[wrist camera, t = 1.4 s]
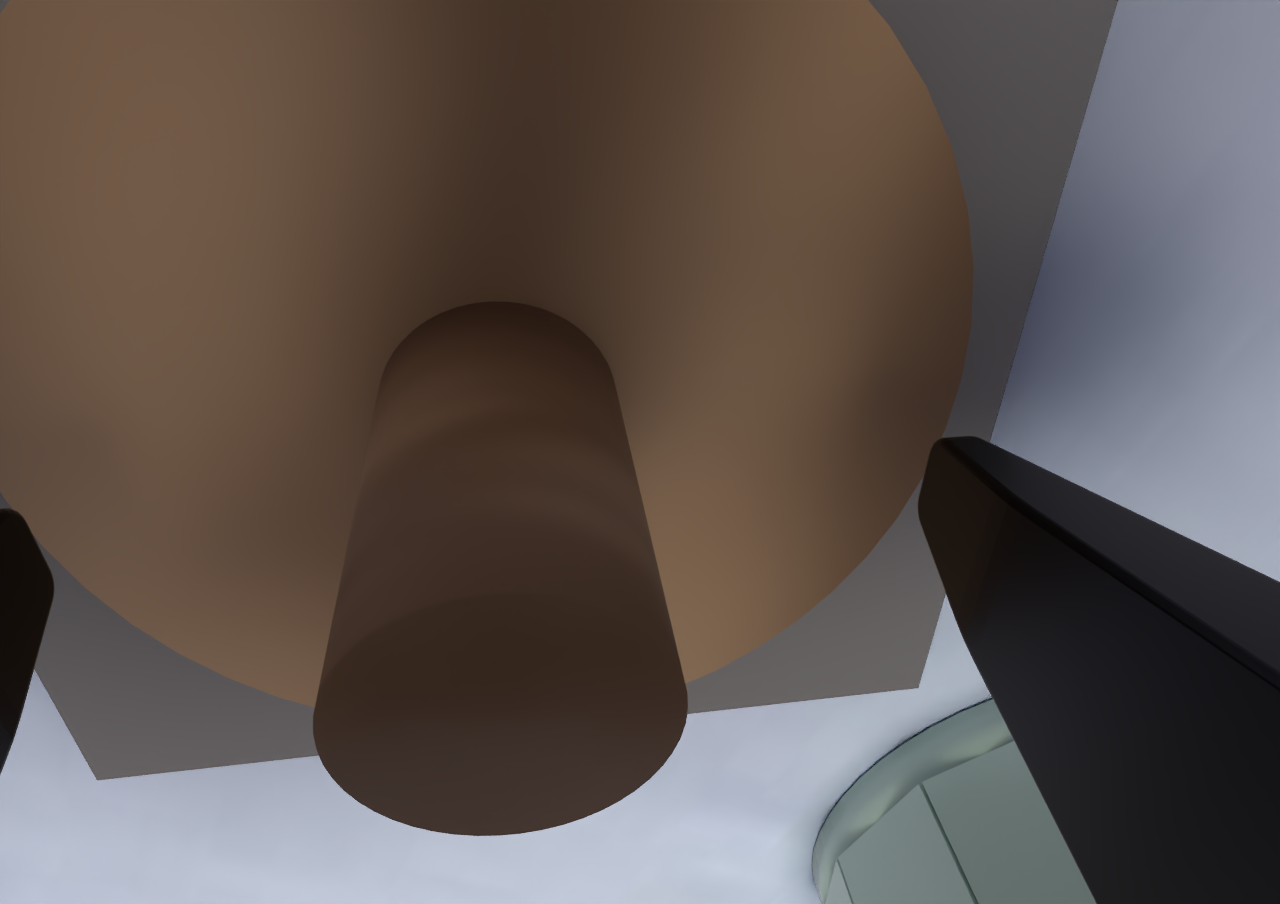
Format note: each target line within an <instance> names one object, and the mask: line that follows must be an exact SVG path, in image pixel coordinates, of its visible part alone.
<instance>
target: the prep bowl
mask: <svg viewBox="0 0 1280 904" xmlns="http://www.w3.org/2000/svg"><path fill="white" fill-rule="evenodd" d="M812 870H813V877H814V882H815V885H816V888H817V891H818V895H819V898H820V901H821V904H1096V902H1095V900H1094V898H1093V896H1092V894H1091V892H1090V890H1089V888H1088V886H1087V884H1086V882H1085V880H1084V878H1083V876H1082V874H1081V872H1080V870H1079V869H1078V867H1077V865H1076V863H1075V861H1074V859H1073V857H1072V855H1071V853H1070V851H1069V849H1068V847H1067V845H1066V843H1065V841H1064V839H1063V837H1062V835H1061V833H1060V831H1059V829H1058V827H1057V825H1056V823H1055V821H1054V819H1053V817H1052V815H1051V813H1050V811H1049V809H1048V807H1047V805H1046V803H1045V801H1044V799H1043V797H1042V795H1041V793H1040V791H1039V789H1038V787H1037V785H1036V783H1035V781H1034V779H1033V777H1032V775H1031V773H1030V771H1029V769H1028V767H1027V765H1026V763H1025V761H1024V759H1023V757H1022V755H1021V753H1020V752H1019V750H1018V748H1017V746H1016V744H1015V742H1014V740H1013V738H1012V736H1011V734H1010V732H1009V730H1008V728H1007V726H1006V724H1005V722H1004V720H1003V718H1002V716H1001V714H1000V712H999V710H998V708H997V706H996V704H995V702H994V700H993V699H992V700H989V701H987V702H984V703H982V704H979V705H977V706H974V707H972V708H970V709H967V710H965V711H962V712H960V713H958V714H956V715H954V716H952V717H950V718H948V719H946V720H944V721H942V722H940V723H938V724H936V725H934V726H932V727H930V728H929V729H927V730H925V731H924V732H922V733H920V734H919V735H917V736H915V737H914V738H912V739H910V740H909V741H907V742H905V743H904V744H902V745H901V746H900V747H898V748H897V749H895V750H894V751H893V752H891V753H890V754H889V755H887V756H886V757H884V758H883V759H882V760H880V761H879V762H878V763H877V764H876V765H874V766H873V767H872V768H871V769H870V770H869V771H868V772H866V773H865V774H864V775H863V776H862V777H861V778H859V779H858V781H857V782H856V783H855V784H854V785H853V786H852V787H851V788H850V789H849V790H848V791H847V792H846V793H845V794H844V795H843V797H842V798H841V799H840V801H839V802H838V803H837V805H836V806H835V807H834V809H833V810H832V811H831V813H830V814H829V816H828V817H827V819H826V821H825V823H824V825H823V827H822V829H821V831H820V832H819V835H818V838H817V841H816V844H815V847H814V852H813V860H812Z"/></svg>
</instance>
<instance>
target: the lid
mask: <svg viewBox="0 0 1280 904" xmlns="http://www.w3.org/2000/svg"><path fill="white" fill-rule="evenodd" d="M973 272H974V267H973V257H972V247H971V237H970V227H969V217H968V208H967V204H966V200H965V196H964V192H963V188H962V184H961V181H960V177H959V173H958V169H957V165H956V161H955V157H954V153H953V149H952V146H951V144H950V141H949V139H948V136H947V134H946V132H945V129H944V127H943V125H942V122H941V120H940V117H939V115H938V113H937V110H936V108H935V106H934V103H933V101H932V98H931V96H930V94H929V91H928V89H927V86H926V85H925V83H924V81H923V80H922V78H921V76H920V75H919V73H918V72H917V70H916V68H915V67H914V65H913V63H912V62H911V60H910V59H909V57H908V55H907V54H906V52H905V50H904V49H903V47H902V45H901V44H900V42H899V41H898V39H897V37H896V36H895V34H894V32H893V31H892V29H891V28H890V26H889V24H888V23H887V22H886V21H885V20H884V19H883V17H882V16H881V15H880V14H879V13H878V12H877V10H876V9H875V8H874V7H873V6H872V4H871V3H870V2H869V1H868V0H10V1H9V2H8V4H7V5H6V6H5V8H4V9H3V10H2V12H1V13H0V492H1V494H2V495H3V497H4V499H5V500H6V501H7V502H8V504H9V505H10V506H11V507H12V509H13V510H15V511H17V512H19V513H20V514H21V515H22V516H23V517H24V519H25V520H26V522H27V524H28V526H29V528H30V530H31V532H32V534H33V535H34V536H35V537H36V539H37V540H38V541H39V542H40V544H41V545H42V546H43V547H44V548H45V549H46V550H47V551H48V552H49V553H50V554H51V555H52V556H53V557H54V558H55V559H56V560H57V561H58V562H59V563H60V564H61V565H62V566H63V567H64V568H65V569H66V570H67V571H68V572H69V573H70V574H71V575H72V576H74V577H75V578H76V579H77V580H78V581H79V582H80V583H81V584H82V585H83V586H84V587H85V588H86V589H87V590H88V591H90V592H91V593H92V594H94V595H95V596H96V597H97V598H99V599H100V600H101V601H102V602H104V603H105V604H106V605H108V606H109V607H110V608H111V609H113V610H114V611H115V612H117V613H118V614H119V615H120V616H122V617H123V618H124V619H126V620H127V621H128V622H129V623H131V624H132V625H134V626H135V627H137V628H139V629H140V630H142V631H143V632H145V633H147V634H148V635H150V636H151V637H153V638H155V639H156V640H158V641H159V642H161V643H163V644H164V645H166V646H167V647H169V648H171V649H172V650H174V651H175V652H177V653H179V654H180V655H182V656H184V657H187V658H189V659H191V660H193V661H195V662H197V663H199V664H201V665H203V666H205V667H207V668H209V669H211V670H213V671H215V672H217V673H219V674H221V675H223V676H225V677H227V678H229V679H232V680H234V681H237V682H240V683H242V684H245V685H247V686H250V687H253V688H255V689H258V690H261V691H263V692H266V693H268V694H271V695H274V696H276V697H279V698H282V699H286V700H290V701H293V702H297V703H300V704H304V705H307V706H311V707H314V708H315V709H314V714H313V736H314V741H315V746H316V750H317V752H318V754H319V757H320V759H321V761H322V763H323V765H324V767H325V768H326V770H327V771H328V773H329V774H330V776H331V777H332V778H333V779H334V780H335V782H336V783H337V784H338V785H339V786H340V787H341V788H342V789H343V790H344V791H345V792H347V793H348V794H349V795H350V796H352V797H353V798H354V799H355V800H357V801H358V802H359V803H361V804H363V805H365V806H366V807H368V808H370V809H371V810H373V811H375V812H377V813H379V814H381V815H383V816H386V817H388V818H390V819H392V820H395V821H398V822H401V823H404V824H407V825H410V826H413V827H417V828H422V829H426V830H430V831H435V832H442V833H449V834H457V835H473V836H492V835H509V834H520V833H526V832H532V831H538V830H543V829H547V828H552V827H556V826H560V825H564V824H567V823H570V822H573V821H576V820H579V819H582V818H584V817H587V816H589V815H592V814H594V813H596V812H599V811H601V810H603V809H605V808H607V807H609V806H611V805H613V804H615V803H616V802H618V801H620V800H622V799H623V798H625V797H626V796H628V795H629V794H631V793H632V792H634V791H635V790H637V789H638V788H639V787H640V786H642V785H643V784H644V783H645V782H646V781H648V780H649V779H650V778H651V777H652V776H653V775H654V774H655V773H656V772H657V771H658V770H659V769H660V768H661V767H662V766H663V764H664V763H665V762H666V761H667V759H668V758H669V757H670V755H671V754H672V753H673V751H674V749H675V747H676V745H677V743H678V742H679V740H680V738H681V735H682V732H683V729H684V726H685V724H686V718H687V711H688V694H687V689H686V684H687V683H689V682H691V681H693V680H696V679H698V678H700V677H703V676H705V675H707V674H710V673H712V672H714V671H716V670H718V669H720V668H722V667H723V666H725V665H727V664H729V663H731V662H733V661H734V660H736V659H738V658H740V657H742V656H744V655H745V654H747V653H749V652H751V651H753V650H754V649H756V648H758V647H759V646H761V645H762V644H764V643H765V642H767V641H768V640H770V639H771V638H773V637H774V636H776V635H777V634H779V633H780V632H782V631H783V630H784V629H786V628H787V627H789V626H790V625H792V624H793V623H795V622H796V621H797V620H799V619H800V618H801V617H802V616H804V615H805V614H806V613H807V612H808V611H810V610H811V609H812V608H813V607H814V606H816V605H817V604H818V603H819V602H820V601H822V600H823V599H824V598H825V597H826V596H828V595H829V594H830V593H831V592H832V591H834V590H835V589H836V588H837V586H838V585H839V584H840V583H841V582H842V581H843V580H844V579H845V578H846V577H847V576H848V575H849V574H850V573H851V572H852V571H853V570H854V569H855V568H856V567H857V566H858V565H859V564H860V563H861V562H862V561H863V560H864V559H865V558H866V557H867V556H868V555H869V553H870V552H871V551H872V549H873V548H874V547H875V546H876V544H877V543H878V542H879V541H880V539H881V538H882V537H883V536H884V534H885V533H886V532H887V531H888V529H889V528H890V527H891V525H892V524H893V523H894V522H895V520H896V519H897V518H898V516H899V515H900V513H901V511H902V510H903V508H904V507H905V505H906V503H907V502H908V500H909V498H910V497H911V495H912V494H913V492H914V490H915V489H916V487H917V486H918V484H919V482H920V481H921V479H922V478H923V476H924V473H925V469H926V465H927V461H928V457H929V453H930V450H931V447H932V446H933V444H934V442H936V441H937V440H938V439H940V438H942V435H943V433H944V431H945V429H946V426H947V423H948V420H949V416H950V413H951V410H952V407H953V404H954V401H955V398H956V395H957V392H958V388H959V385H960V382H961V379H962V374H963V368H964V363H965V357H966V352H967V346H968V341H969V335H970V330H971V320H972V296H973Z"/></svg>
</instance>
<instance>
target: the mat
mask: <svg viewBox="0 0 1280 904" xmlns="http://www.w3.org/2000/svg"><path fill="white" fill-rule="evenodd" d="M9 1H10V0H0V13H1V12H2V10H3V9H4V8H5V6H6V5H7V4H8V2H9ZM868 1H869V2H870V3H871V4H872V6H873V7H874V8H875V9H876V10H877V12H878V13H879V14H880V15H881V16H882V17H883V19H884V20H885V21H886V22H887V23H888V24H889V26H890V28H891V29H892V31H893V32H894V34H895V36H896V37H897V39H898V41H899V42H900V44H901V45H902V47H903V49H904V50H905V52H906V54H907V55H908V57H909V59H910V60H911V62H912V63H913V65H914V67H915V68H916V70H917V72H918V73H919V75H920V76H921V78H922V80H923V81H924V83H925V85H926V86H927V89H928V91H929V94H930V96H931V98H932V101H933V103H934V106H935V108H936V110H937V113H938V115H939V117H940V120H941V122H942V125H943V127H944V129H945V132H946V134H947V136H948V139H949V141H950V144H951V146H952V149H953V153H954V157H955V161H956V165H957V169H958V173H959V177H960V181H961V184H962V188H963V192H964V196H965V200H966V204H967V208H968V217H969V227H970V237H971V247H972V257H973V267H974V272H973V296H972V320H971V330H970V335H969V341H968V346H967V352H966V357H965V363H964V368H963V374H962V379H961V382H960V385H959V388H958V392H957V395H956V398H955V401H954V404H953V407H952V410H951V413H950V416H949V420H948V423H947V426H946V429H945V431H944V433H943V435H942V438H946V437H959V436H976V437H979V438H981V439H983V440H985V441H987V442H990V439H991V436H992V432H993V429H994V425H995V422H996V418H997V415H998V411H999V408H1000V404H1001V401H1002V398H1003V394H1004V391H1005V387H1006V384H1007V380H1008V377H1009V373H1010V370H1011V367H1012V363H1013V360H1014V356H1015V353H1016V349H1017V346H1018V342H1019V339H1020V336H1021V332H1022V329H1023V325H1024V322H1025V318H1026V315H1027V311H1028V308H1029V305H1030V301H1031V298H1032V294H1033V291H1034V287H1035V284H1036V280H1037V277H1038V274H1039V270H1040V267H1041V263H1042V260H1043V256H1044V253H1045V249H1046V246H1047V243H1048V239H1049V236H1050V232H1051V229H1052V225H1053V222H1054V218H1055V215H1056V212H1057V208H1058V205H1059V201H1060V198H1061V194H1062V191H1063V187H1064V184H1065V181H1066V177H1067V174H1068V170H1069V167H1070V163H1071V160H1072V156H1073V153H1074V150H1075V146H1076V143H1077V139H1078V136H1079V132H1080V129H1081V125H1082V122H1083V119H1084V115H1085V112H1086V108H1087V105H1088V101H1089V98H1090V94H1091V91H1092V88H1093V84H1094V81H1095V77H1096V74H1097V70H1098V67H1099V63H1100V60H1101V57H1102V53H1103V50H1104V46H1105V43H1106V39H1107V36H1108V32H1109V29H1110V26H1111V22H1112V19H1113V15H1114V12H1115V8H1116V5H1117V1H1118V0H868ZM923 477H924V476H923ZM922 481H923V478H922V479H921V481H920V482H919V484H918V486H917V487H916V489H915V490H914V492H913V494H912V495H911V497H910V498H909V500H908V502H907V503H906V505H905V507H904V508H903V510H902V511H901V513H900V515H899V516H898V518H897V519H896V520H895V522H894V523H893V524H892V525H891V527H890V528H889V529H888V531H887V532H886V533H885V534H884V536H883V537H882V538H881V539H880V541H879V542H878V543H877V544H876V546H875V547H874V548H873V549H872V551H871V552H870V553H869V555H868V556H867V557H866V558H865V559H864V560H863V561H862V562H861V563H860V564H859V565H858V566H857V567H856V568H855V569H854V570H853V571H852V572H851V573H850V574H849V575H848V576H847V577H846V578H845V579H844V580H843V581H842V582H841V583H840V584H839V585H838V586H837V588H836V589H835V590H834V591H832V592H831V593H830V594H829V595H828V596H826V597H825V598H824V599H823V600H822V601H820V602H819V603H818V604H817V605H816V606H814V607H813V608H812V609H811V610H810V611H808V612H807V613H806V614H805V615H804V616H802V617H801V618H800V619H799V620H797V621H796V622H795V623H793V624H792V625H790V626H789V627H787V628H786V629H784V630H783V631H782V632H780V633H779V634H777V635H776V636H774V637H773V638H771V639H770V640H768V641H767V642H765V643H764V644H762V645H761V646H759V647H758V648H756V649H754V650H753V651H751V652H749V653H747V654H745V655H744V656H742V657H740V658H738V659H736V660H734V661H733V662H731V663H729V664H727V665H725V666H723V667H722V668H720V669H718V670H716V671H714V672H712V673H710V674H707V675H705V676H703V677H700V678H698V679H696V680H693V681H691V682H689V683H687V684H686V689H687V694H688V711H687V714H691V713H700V712H709V711H717V710H726V709H735V708H744V707H753V706H762V705H771V704H780V703H789V702H797V701H806V700H815V699H824V698H833V697H842V696H851V695H860V694H869V693H877V692H886V691H895V690H904V689H913V688H918V687H919V684H920V680H921V677H922V673H923V670H924V666H925V663H926V659H927V656H928V653H929V649H930V646H931V642H932V639H933V635H934V632H935V628H936V625H937V622H938V618H939V615H940V611H941V608H942V604H943V601H944V597H945V594H946V592H945V589H944V586H943V584H942V581H941V578H940V576H939V573H938V570H937V567H936V565H935V562H934V559H933V557H932V554H931V551H930V548H929V546H928V543H927V540H926V538H925V535H924V532H923V529H922V527H921V524H920V521H919V516H918V498H919V494H920V490H921V486H922ZM1 508H10V509H12V507H11V506H10V505H9V504H8V502H7V501H6V500H5V499H4V497H3V495H2V494H1V492H0V509H1ZM33 536H34V535H33ZM34 538H35V540H36V542H37V544H38V546H39V548H40V550H41V552H42V554H43V556H44V558H45V560H46V562H47V564H48V566H49V568H50V570H51V572H52V575H53V580H54V597H53V602H52V606H51V609H50V613H49V617H48V620H47V624H46V627H45V631H44V635H43V638H42V642H41V646H40V649H39V653H38V656H37V660H36V664H35V667H34V669H35V671H36V672H37V674H38V676H39V678H40V680H41V681H42V683H43V685H44V687H45V688H46V690H47V692H48V694H49V696H50V697H51V699H52V701H53V703H54V704H55V706H56V708H57V710H58V712H59V713H60V715H61V717H62V719H63V720H64V722H65V724H66V726H67V728H68V729H69V731H70V733H71V735H72V736H73V738H74V740H75V742H76V743H77V745H78V747H79V749H80V751H81V752H82V754H83V756H84V758H85V759H86V761H87V763H88V765H89V767H90V768H91V770H92V772H93V774H94V775H95V777H96V779H97V780H104V779H113V778H122V777H131V776H139V775H148V774H157V773H166V772H175V771H184V770H193V769H202V768H211V767H219V766H228V765H237V764H246V763H255V762H264V761H273V760H282V759H291V758H299V757H308V756H317V755H319V754H318V752H317V750H316V746H315V741H314V736H313V714H314V709H315V708H314V707H311V706H307V705H304V704H300V703H297V702H293V701H290V700H286V699H282V698H279V697H276V696H274V695H271V694H268V693H266V692H263V691H261V690H258V689H255V688H253V687H250V686H247V685H245V684H242V683H240V682H237V681H234V680H232V679H229V678H227V677H225V676H223V675H221V674H219V673H217V672H215V671H213V670H211V669H209V668H207V667H205V666H203V665H201V664H199V663H197V662H195V661H193V660H191V659H189V658H187V657H184V656H182V655H180V654H179V653H177V652H175V651H174V650H172V649H171V648H169V647H167V646H166V645H164V644H163V643H161V642H159V641H158V640H156V639H155V638H153V637H151V636H150V635H148V634H147V633H145V632H143V631H142V630H140V629H139V628H137V627H135V626H134V625H132V624H131V623H129V622H128V621H127V620H126V619H124V618H123V617H122V616H120V615H119V614H118V613H117V612H115V611H114V610H113V609H111V608H110V607H109V606H108V605H106V604H105V603H104V602H102V601H101V600H100V599H99V598H97V597H96V596H95V595H94V594H92V593H91V592H90V591H88V590H87V589H86V588H85V587H84V586H83V585H82V584H81V583H80V582H79V581H78V580H77V579H76V578H75V577H74V576H72V575H71V574H70V573H69V572H68V571H67V570H66V569H65V568H64V567H63V566H62V565H61V564H60V563H59V562H58V561H57V560H56V559H55V558H54V557H53V556H52V555H51V554H50V553H49V552H48V551H47V550H46V549H45V548H44V547H43V546H42V545H41V544H40V542H39V541H38V540H37V539H36V537H35V536H34Z"/></svg>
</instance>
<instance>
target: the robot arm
mask: <svg viewBox="0 0 1280 904" xmlns="http://www.w3.org/2000/svg"><path fill="white" fill-rule="evenodd" d="M918 516H919V521H920V524H921V527H922V529H923V532H924V535H925V538H926V540H927V543H928V546H929V548H930V551H931V554H932V557H933V559H934V562H935V565H936V567H937V570H938V573H939V576H940V578H941V581H942V584H943V586H944V589H945V592H946V595H947V597H948V600H949V603H950V606H951V608H952V611H953V614H954V616H955V619H956V622H957V624H958V627H959V629H960V632H961V634H962V637H963V639H964V641H965V643H966V646H967V648H968V650H969V652H970V654H971V656H972V658H973V660H974V662H975V664H976V666H977V668H978V670H979V672H980V674H981V676H982V678H983V680H984V682H985V684H986V686H987V688H988V690H989V692H990V694H991V696H992V698H993V700H994V702H995V704H996V706H997V708H998V710H999V712H1000V714H1001V716H1002V718H1003V720H1004V722H1005V724H1006V726H1007V728H1008V730H1009V732H1010V734H1011V736H1012V738H1013V740H1014V742H1015V744H1016V746H1017V748H1018V750H1019V752H1020V753H1021V755H1022V757H1023V759H1024V761H1025V763H1026V765H1027V767H1028V769H1029V771H1030V773H1031V775H1032V777H1033V779H1034V781H1035V783H1036V785H1037V787H1038V789H1039V791H1040V793H1041V795H1042V797H1043V799H1044V801H1045V803H1046V805H1047V807H1048V809H1049V811H1050V813H1051V815H1052V817H1053V819H1054V821H1055V823H1056V825H1057V827H1058V829H1059V831H1060V833H1061V835H1062V837H1063V839H1064V841H1065V843H1066V845H1067V847H1068V849H1069V851H1070V853H1071V855H1072V857H1073V859H1074V861H1075V863H1076V865H1077V867H1078V869H1079V870H1080V872H1081V874H1082V876H1083V878H1084V880H1085V882H1086V884H1087V886H1088V888H1089V890H1090V892H1091V894H1092V896H1093V898H1094V900H1095V902H1096V904H1280V582H1279V581H1277V580H1274V579H1272V578H1270V577H1268V576H1266V575H1264V574H1262V573H1260V572H1258V571H1256V570H1254V569H1252V568H1249V567H1247V566H1245V565H1243V564H1241V563H1239V562H1237V561H1235V560H1233V559H1231V558H1229V557H1227V556H1224V555H1222V554H1220V553H1218V552H1216V551H1214V550H1212V549H1210V548H1208V547H1206V546H1204V545H1202V544H1199V543H1197V542H1195V541H1193V540H1191V539H1189V538H1187V537H1185V536H1183V535H1181V534H1179V533H1177V532H1174V531H1172V530H1170V529H1168V528H1166V527H1164V526H1162V525H1160V524H1158V523H1156V522H1154V521H1152V520H1149V519H1147V518H1145V517H1143V516H1141V515H1139V514H1137V513H1135V512H1133V511H1131V510H1129V509H1127V508H1125V507H1122V506H1120V505H1118V504H1116V503H1114V502H1112V501H1110V500H1108V499H1106V498H1104V497H1102V496H1100V495H1097V494H1095V493H1093V492H1091V491H1089V490H1087V489H1085V488H1083V487H1081V486H1079V485H1077V484H1075V483H1073V482H1070V481H1068V480H1066V479H1064V478H1062V477H1060V476H1058V475H1056V474H1054V473H1052V472H1050V471H1048V470H1045V469H1043V468H1041V467H1039V466H1037V465H1035V464H1033V463H1031V462H1029V461H1027V460H1025V459H1023V458H1020V457H1018V456H1016V455H1014V454H1012V453H1010V452H1008V451H1006V450H1004V449H1002V448H1000V447H998V446H996V445H993V444H991V443H989V442H987V441H985V440H983V439H981V438H979V437H976V436H959V437H946V438H940V439H938V440H937V441H936V442H934V444H933V446H932V447H931V450H930V453H929V457H928V461H927V465H926V469H925V473H924V477H923V481H922V486H921V490H920V494H919V498H918ZM53 597H54V580H53V575H52V572H51V570H50V568H49V566H48V564H47V562H46V560H45V558H44V556H43V554H42V552H41V550H40V548H39V546H38V544H37V542H36V540H35V538H34V536H33V534H32V532H31V530H30V528H29V526H28V524H27V522H26V520H25V519H24V517H23V516H22V515H21V514H20V513H19V512H17V511H15V510H13V509H10V508H1V509H0V774H1V771H2V769H3V766H4V764H5V761H6V759H7V756H8V753H9V751H10V748H11V745H12V743H13V740H14V737H15V734H16V730H17V727H18V724H19V721H20V718H21V714H22V711H23V707H24V703H25V700H26V696H27V693H28V689H29V685H30V682H31V678H32V674H33V671H34V667H35V664H36V660H37V656H38V653H39V649H40V646H41V642H42V638H43V635H44V631H45V627H46V624H47V620H48V617H49V613H50V609H51V606H52V602H53Z"/></svg>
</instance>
